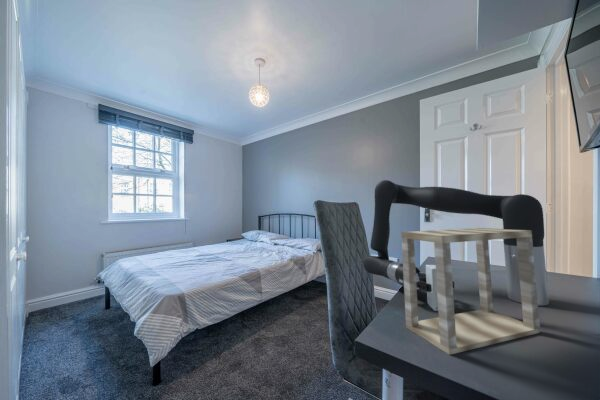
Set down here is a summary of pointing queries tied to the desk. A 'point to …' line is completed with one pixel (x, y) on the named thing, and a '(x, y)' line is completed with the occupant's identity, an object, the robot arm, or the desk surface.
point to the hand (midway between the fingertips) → (442, 286)
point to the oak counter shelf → (477, 319)
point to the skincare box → (431, 279)
